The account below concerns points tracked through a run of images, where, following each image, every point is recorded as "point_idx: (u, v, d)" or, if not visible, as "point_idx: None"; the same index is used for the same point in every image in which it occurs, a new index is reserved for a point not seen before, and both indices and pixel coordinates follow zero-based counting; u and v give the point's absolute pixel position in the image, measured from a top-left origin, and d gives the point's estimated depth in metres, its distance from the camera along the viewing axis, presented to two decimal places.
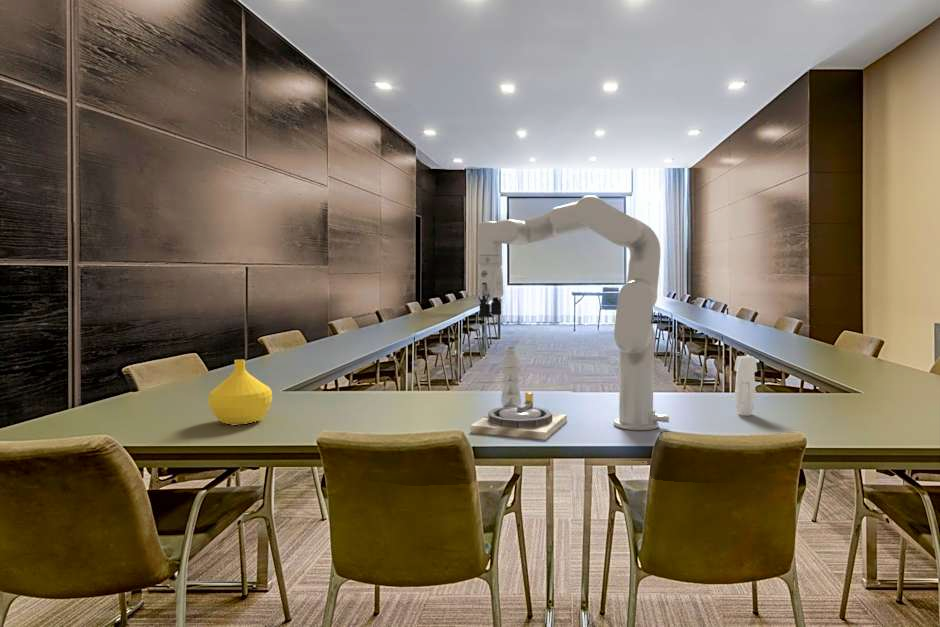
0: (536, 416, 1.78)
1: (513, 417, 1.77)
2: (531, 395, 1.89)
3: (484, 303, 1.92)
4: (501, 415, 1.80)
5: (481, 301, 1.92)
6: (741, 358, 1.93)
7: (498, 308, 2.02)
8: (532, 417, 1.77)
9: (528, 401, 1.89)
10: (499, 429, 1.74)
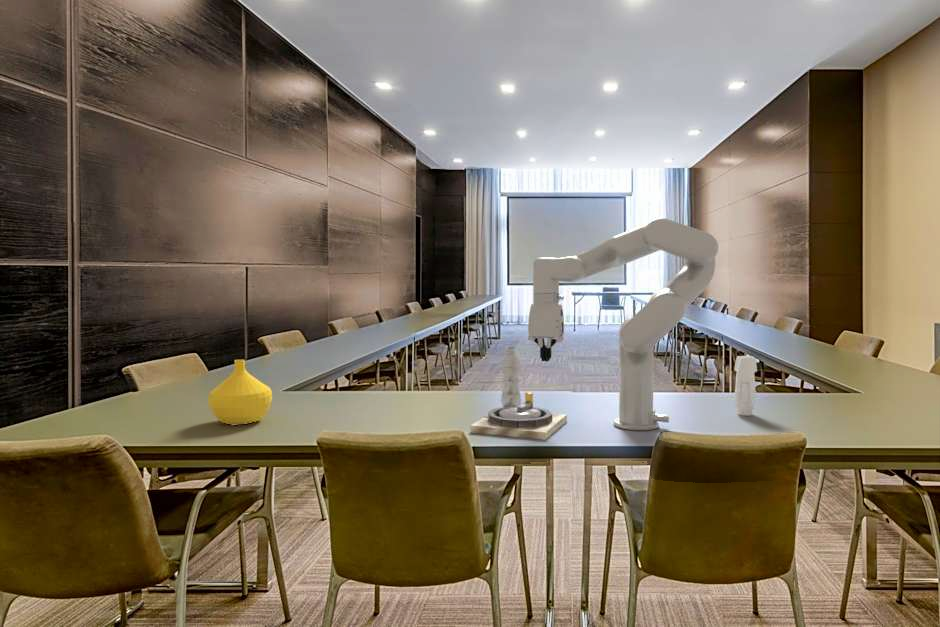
0: (536, 416, 1.78)
1: (513, 417, 1.77)
2: (531, 395, 1.89)
3: None
4: (501, 415, 1.80)
5: (552, 345, 1.86)
6: (741, 358, 1.93)
7: None
8: (532, 417, 1.77)
9: (528, 401, 1.89)
10: (499, 429, 1.74)
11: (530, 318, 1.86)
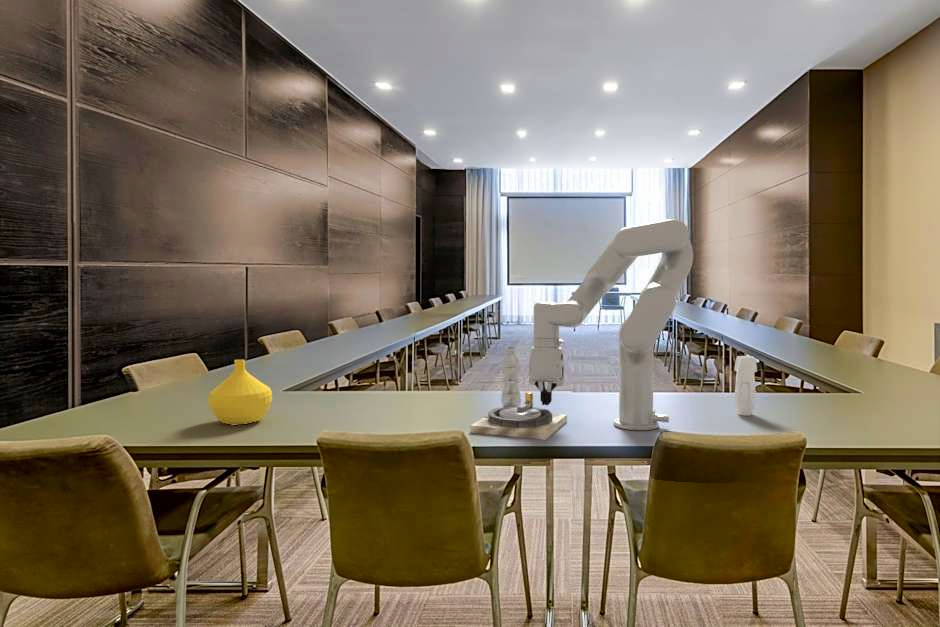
0: (536, 416, 1.78)
1: (513, 417, 1.77)
2: (531, 395, 1.89)
3: None
4: (501, 415, 1.80)
5: None
6: (741, 358, 1.93)
7: None
8: (532, 417, 1.77)
9: (528, 401, 1.89)
10: (499, 429, 1.74)
11: (530, 362, 1.87)
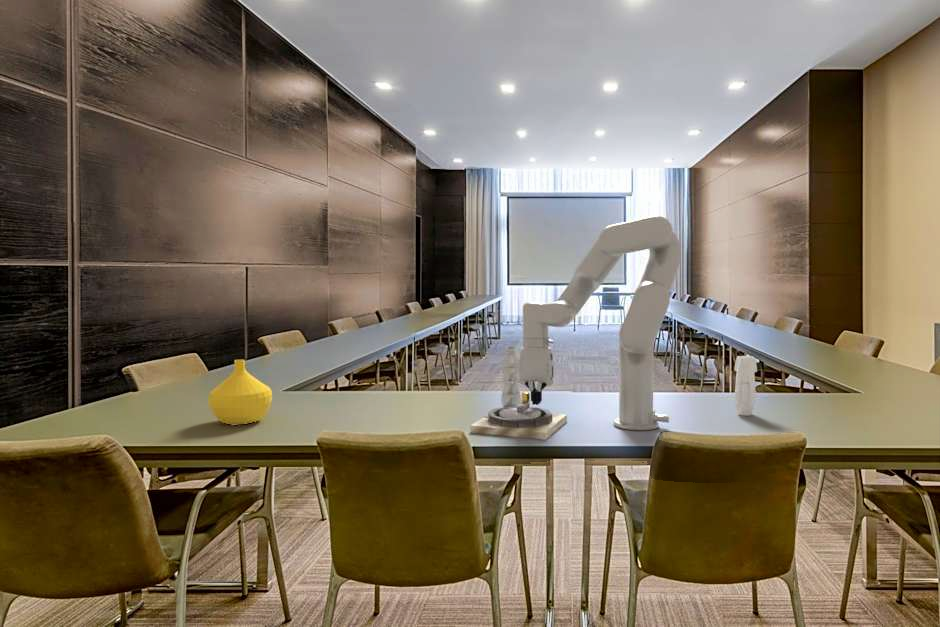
0: (537, 416, 1.79)
1: (516, 417, 1.77)
2: (528, 395, 1.90)
3: None
4: (502, 416, 1.80)
5: (543, 388, 1.88)
6: (741, 358, 1.93)
7: None
8: (534, 417, 1.78)
9: (525, 401, 1.89)
10: (499, 429, 1.74)
11: (520, 362, 1.88)
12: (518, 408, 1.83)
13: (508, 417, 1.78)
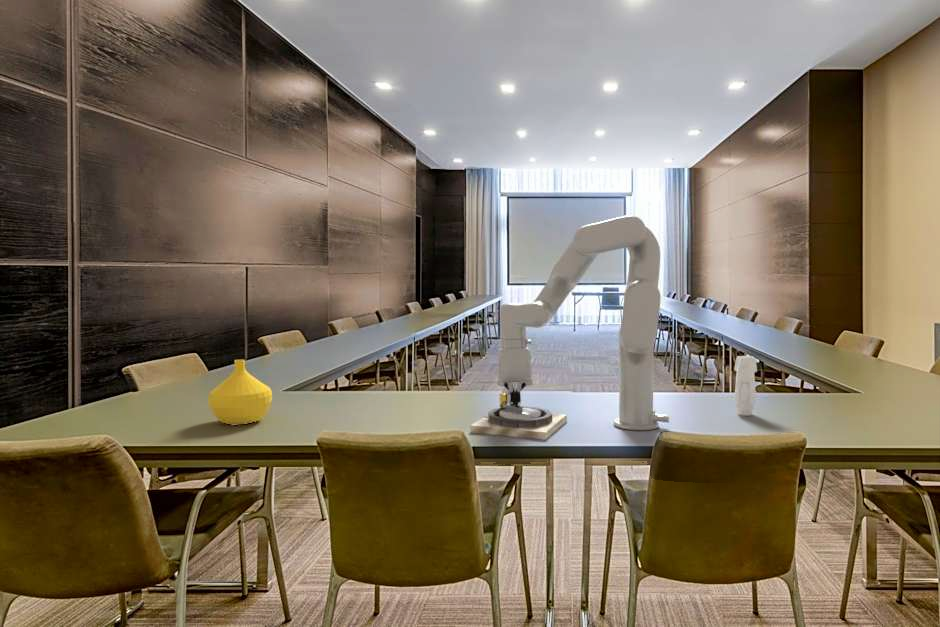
0: None
1: (532, 416, 1.77)
2: (507, 395, 1.89)
3: None
4: (516, 418, 1.77)
5: (522, 388, 1.89)
6: (741, 358, 1.93)
7: None
8: (540, 413, 1.82)
9: (506, 401, 1.89)
10: (499, 429, 1.74)
11: (500, 364, 1.88)
12: (518, 408, 1.82)
13: (525, 418, 1.77)
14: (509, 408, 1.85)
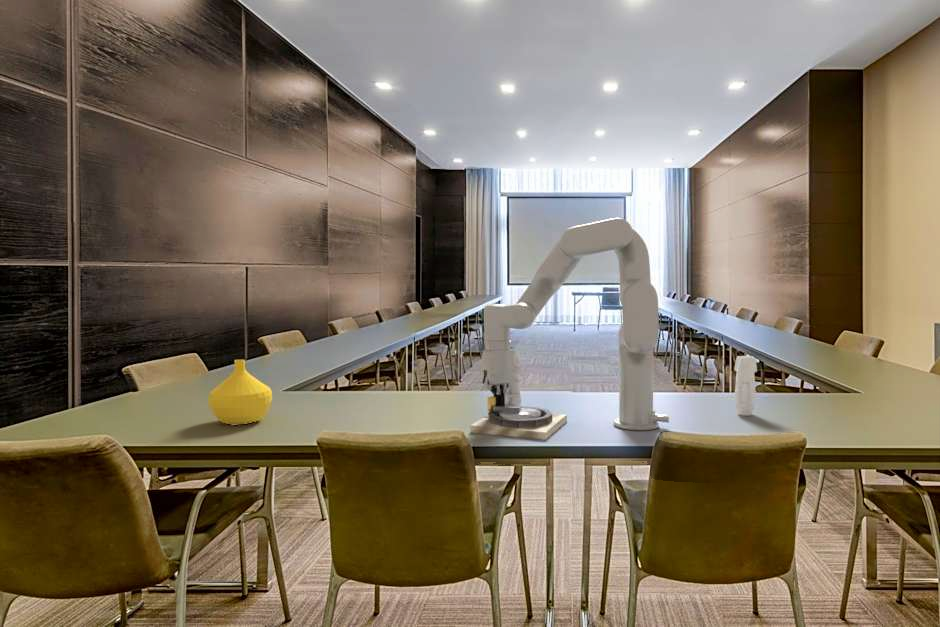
0: None
1: (540, 414, 1.81)
2: None
3: None
4: (531, 417, 1.77)
5: None
6: (741, 358, 1.93)
7: None
8: None
9: (495, 405, 1.85)
10: (499, 429, 1.74)
11: (492, 367, 1.83)
12: (519, 408, 1.82)
13: (537, 416, 1.79)
14: (505, 410, 1.83)
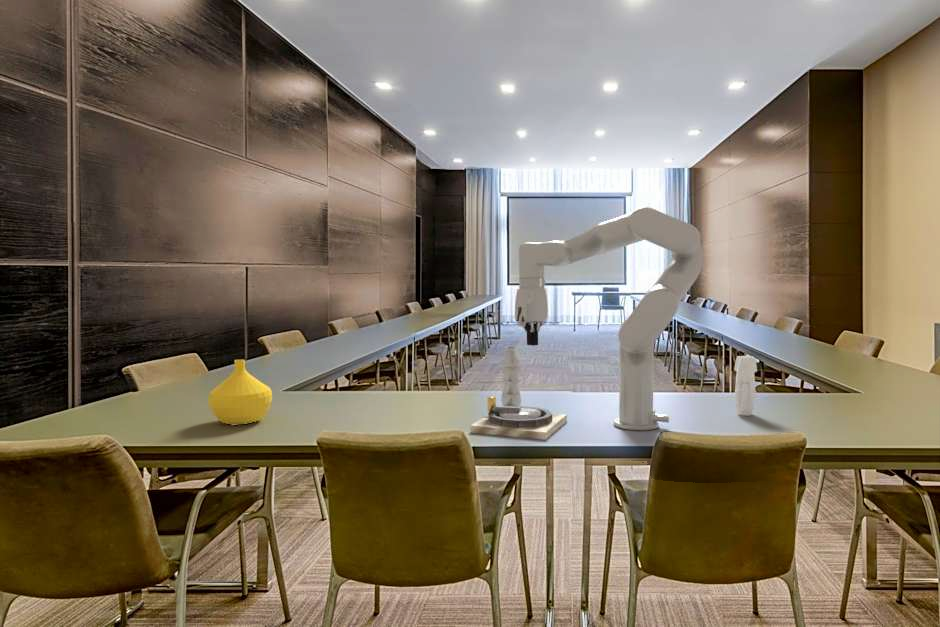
0: None
1: (540, 413, 1.81)
2: None
3: None
4: (531, 417, 1.77)
5: None
6: (741, 358, 1.93)
7: None
8: None
9: (495, 405, 1.85)
10: (499, 429, 1.74)
11: (527, 303, 1.84)
12: (519, 408, 1.82)
13: (537, 416, 1.79)
14: (505, 410, 1.83)
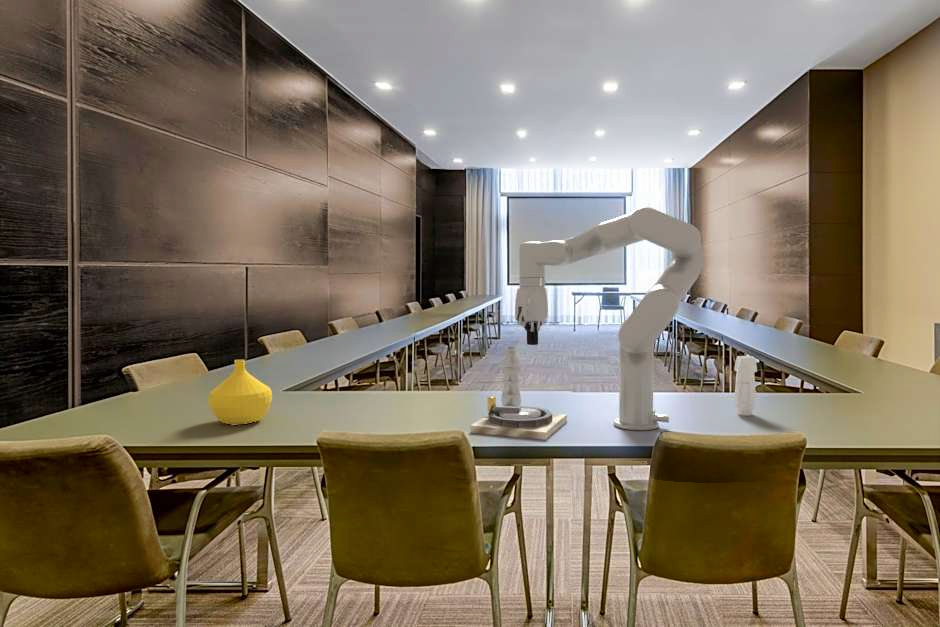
0: None
1: (540, 413, 1.81)
2: None
3: None
4: (531, 417, 1.77)
5: None
6: (741, 358, 1.93)
7: None
8: None
9: (495, 405, 1.85)
10: (499, 429, 1.74)
11: (527, 303, 1.84)
12: (519, 408, 1.82)
13: (537, 416, 1.79)
14: (505, 410, 1.83)
